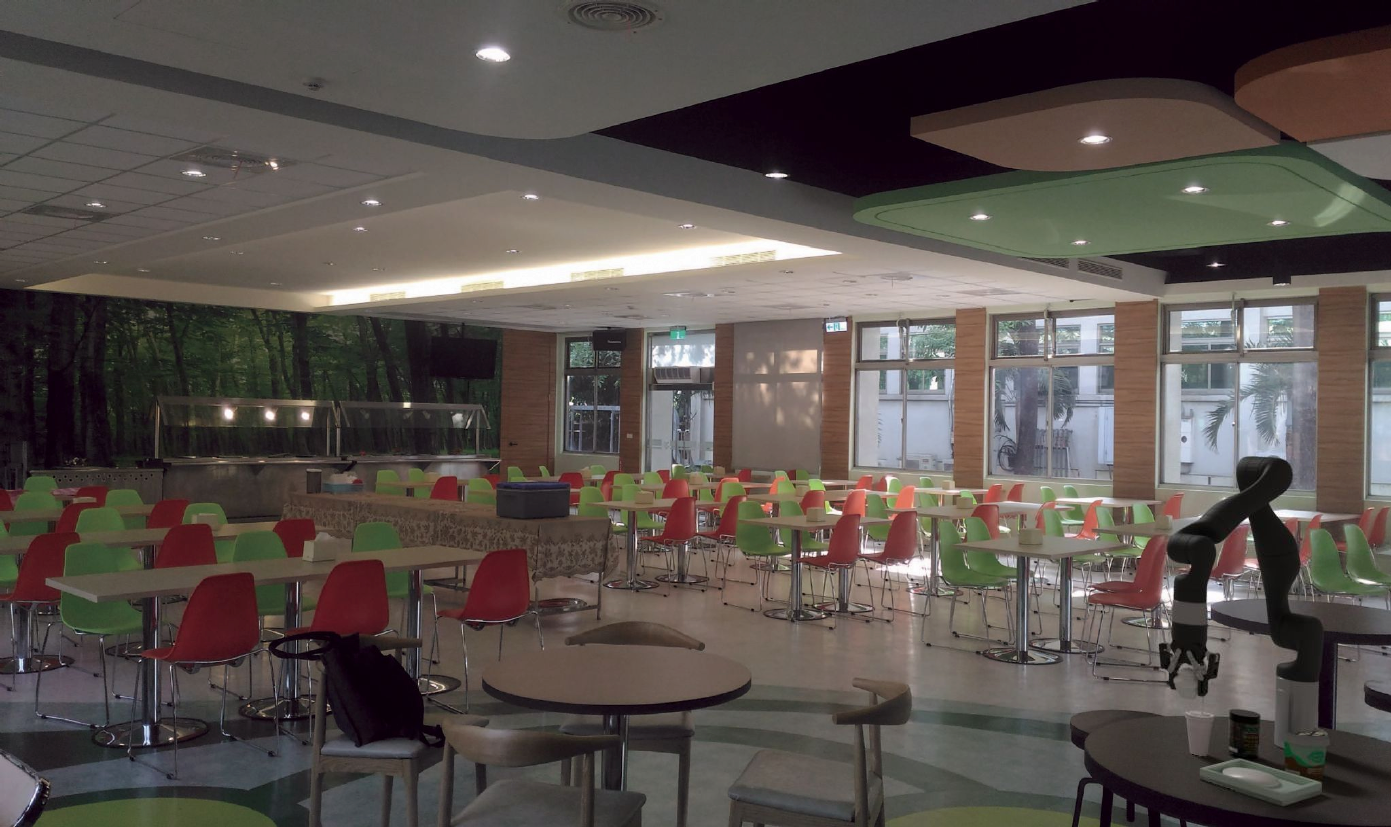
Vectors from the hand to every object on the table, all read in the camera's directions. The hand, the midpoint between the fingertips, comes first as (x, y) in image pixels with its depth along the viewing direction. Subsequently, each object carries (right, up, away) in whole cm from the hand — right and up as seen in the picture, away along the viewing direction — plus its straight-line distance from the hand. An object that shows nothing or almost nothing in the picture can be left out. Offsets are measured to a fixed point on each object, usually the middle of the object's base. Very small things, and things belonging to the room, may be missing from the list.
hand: (1187, 692), depth 235 cm
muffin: (0, -1, 0) cm, 1 cm away
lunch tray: (+10, -17, -13) cm, 23 cm away
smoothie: (+7, -18, +9) cm, 21 cm away
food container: (+26, -18, -5) cm, 32 cm away
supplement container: (+18, -18, +9) cm, 27 cm away
